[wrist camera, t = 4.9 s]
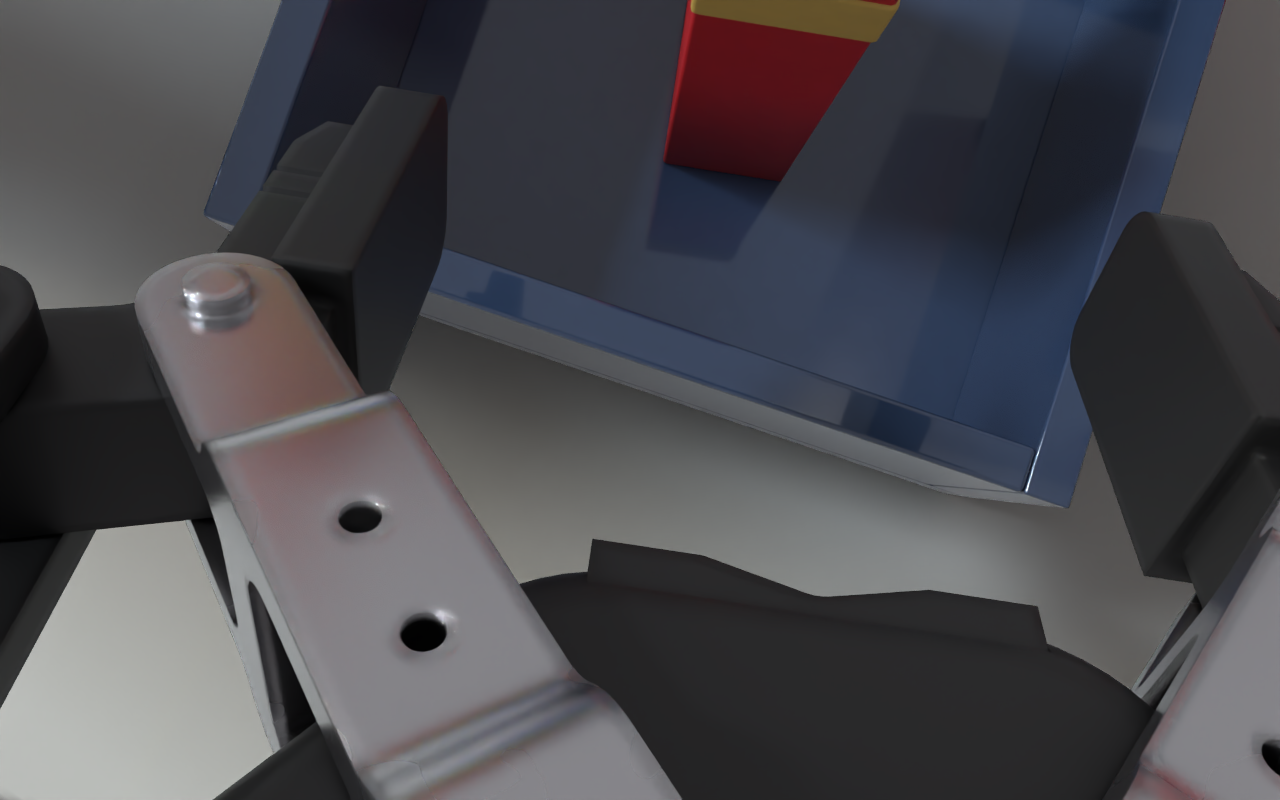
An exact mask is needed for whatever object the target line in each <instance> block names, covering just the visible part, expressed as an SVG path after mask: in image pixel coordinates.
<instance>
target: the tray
mask: <svg viewBox="0 0 1280 800" xmlns="http://www.w3.org/2000/svg"><path fill="white" fill-rule="evenodd" d="M1225 1H1226V0H900V5H899V8H898V10H897V11H896V13H895V14H894V16H893V17H892V19H891V20H890V22H889V23H888V25H887V26H886V28H885V29H884V31H883V32H882V34H881V35H880V37H879V38H878V40H877V41H876V42H872V43H870V45H869V46H868V48H867V49H866V51H865V52H864V54H863V55H862V57H861V58H860V60H859V62H858V63H857V65H856V66H855V68H854V69H853V71H852V72H851V74H850V75H849V77H848V79H847V80H846V82H845V83H844V85H843V86H842V88H841V89H840V91H839V92H838V94H837V96H836V97H835V99H834V100H833V102H832V103H831V105H830V106H829V108H828V109H827V111H826V113H825V114H824V116H823V117H822V119H821V120H820V122H819V123H818V125H817V126H816V128H815V130H814V131H813V133H812V134H811V136H810V137H809V139H808V140H807V142H806V143H805V145H804V147H803V148H802V150H801V151H800V153H799V154H798V156H797V157H796V159H795V160H794V162H793V164H792V165H791V167H790V168H789V170H788V171H787V173H786V174H785V176H784V177H783V179H782V181H774V180H768V179H761V178H755V177H749V176H743V175H736V174H730V173H724V172H717V171H711V170H705V169H699V168H692V167H686V166H680V165H674V164H667V163H665V162H664V161H663V158H664V151H665V144H666V138H667V131H668V125H669V118H670V112H671V105H672V99H673V92H674V85H675V79H676V72H677V66H678V59H679V53H680V46H681V40H682V33H683V26H684V20H685V13H686V7H687V0H281V3H280V6H279V9H278V11H277V14H276V17H275V19H274V22H273V25H272V28H271V30H270V33H269V36H268V38H267V41H266V44H265V47H264V49H263V52H262V55H261V57H260V60H259V63H258V66H257V68H256V71H255V74H254V76H253V79H252V82H251V85H250V87H249V90H248V93H247V95H246V98H245V101H244V104H243V106H242V109H241V112H240V114H239V117H238V120H237V123H236V125H235V128H234V131H233V133H232V136H231V139H230V142H229V144H228V147H227V150H226V152H225V155H224V158H223V161H222V163H221V166H220V169H219V171H218V174H217V177H216V180H215V182H214V185H213V188H212V190H211V193H210V196H209V199H208V201H207V204H206V207H205V209H204V216H205V217H207V218H208V219H210V220H212V221H213V222H215V223H217V224H218V225H220V226H222V227H223V228H225V229H227V230H228V231H230V232H231V231H232V229H233V228H234V226H235V225H236V223H237V222H238V221H239V219H240V218H241V216H242V215H243V213H244V212H245V210H246V209H247V208H248V206H249V205H250V203H251V202H252V200H253V199H254V197H255V196H256V195H257V193H258V192H259V191H262V190H263V184H264V183H265V182H266V180H267V179H268V177H269V176H270V174H271V173H272V172H273V170H277V164H278V163H279V161H280V160H281V159H282V157H283V156H284V154H285V153H286V151H287V150H288V148H289V147H290V146H291V144H292V143H293V141H294V140H295V139H297V138H299V137H301V136H302V135H304V134H306V133H308V132H309V131H311V130H313V129H315V128H317V127H318V126H320V125H322V124H324V123H325V122H327V121H330V122H336V123H342V124H349V125H354V123H355V121H356V120H357V118H358V116H359V115H360V113H361V112H362V110H363V108H364V107H365V105H366V104H367V102H368V100H369V99H370V97H371V95H372V94H373V92H374V91H375V89H376V88H377V87H378V86H385V87H392V88H398V89H404V90H410V91H416V92H422V93H429V94H435V95H441V96H444V97H445V99H446V103H447V111H448V150H447V220H446V232H445V239H444V245H443V250H442V255H441V259H440V262H439V265H438V268H437V271H436V273H435V276H434V278H433V281H432V283H431V286H430V288H429V291H428V293H427V296H426V298H425V301H424V303H423V306H422V308H421V311H420V313H419V316H422V317H425V318H428V319H431V320H434V321H437V322H440V323H443V324H446V325H449V326H452V327H455V328H458V329H461V330H464V331H467V332H470V333H472V334H475V335H478V336H481V337H484V338H487V339H490V340H493V341H496V342H499V343H502V344H505V345H508V346H511V347H514V348H517V349H520V350H523V351H526V352H529V353H532V354H534V355H537V356H540V357H543V358H546V359H549V360H552V361H555V362H558V363H561V364H564V365H567V366H570V367H573V368H576V369H579V370H582V371H585V372H588V373H591V374H594V375H597V376H599V377H602V378H605V379H608V380H611V381H614V382H617V383H620V384H623V385H626V386H629V387H632V388H635V389H638V390H641V391H644V392H647V393H650V394H653V395H656V396H659V397H661V398H664V399H667V400H670V401H673V402H676V403H679V404H682V405H685V406H688V407H691V408H694V409H697V410H700V411H703V412H706V413H709V414H712V415H715V416H718V417H721V418H724V419H726V420H729V421H732V422H735V423H738V424H741V425H744V426H747V427H750V428H753V429H756V430H759V431H762V432H765V433H768V434H771V435H774V436H777V437H780V438H783V439H786V440H789V441H791V442H794V443H797V444H800V445H803V446H806V447H809V448H812V449H815V450H818V451H821V452H824V453H827V454H830V455H833V456H836V457H839V458H842V459H845V460H848V461H851V462H853V463H856V464H859V465H862V466H865V467H868V468H871V469H874V470H877V471H880V472H883V473H886V474H889V475H892V476H895V477H898V478H901V479H904V480H907V481H910V482H913V483H916V484H918V485H921V486H924V487H927V488H930V489H933V490H936V491H939V492H942V493H945V494H949V495H957V496H964V497H971V498H980V499H989V500H997V501H1006V502H1015V503H1023V504H1032V505H1041V506H1050V507H1058V508H1068V507H1069V506H1070V503H1071V499H1072V496H1073V493H1074V490H1075V486H1076V483H1077V480H1078V477H1079V473H1080V470H1081V467H1082V464H1083V461H1084V457H1085V454H1086V451H1087V448H1088V444H1089V441H1090V438H1091V435H1092V431H1093V429H1092V426H1091V423H1090V420H1089V417H1088V415H1087V412H1086V409H1085V406H1084V403H1083V400H1082V397H1081V395H1080V392H1079V389H1078V386H1077V383H1076V380H1075V378H1074V375H1073V372H1072V368H1071V364H1070V344H1071V338H1072V333H1073V330H1074V326H1075V323H1076V321H1077V318H1078V316H1079V314H1080V312H1081V310H1082V308H1083V306H1084V305H1085V303H1086V301H1087V299H1088V297H1089V295H1090V293H1091V291H1092V289H1093V287H1094V285H1095V283H1096V281H1097V280H1098V278H1099V276H1100V274H1101V272H1102V270H1103V268H1104V266H1105V264H1106V262H1107V260H1108V258H1109V256H1110V255H1111V253H1112V251H1113V249H1114V247H1115V245H1116V243H1117V241H1118V239H1119V237H1120V235H1121V233H1122V231H1123V230H1124V228H1125V226H1126V225H1127V224H1128V222H1129V221H1130V220H1131V219H1132V218H1133V217H1134V216H1135V215H1136V214H1138V213H1140V212H1144V211H1146V212H1152V213H1158V214H1160V211H1161V208H1162V205H1163V202H1164V198H1165V195H1166V192H1167V189H1168V185H1169V182H1170V179H1171V176H1172V172H1173V169H1174V166H1175V163H1176V159H1177V156H1178V153H1179V150H1180V147H1181V143H1182V140H1183V137H1184V134H1185V130H1186V127H1187V124H1188V121H1189V117H1190V114H1191V111H1192V108H1193V104H1194V101H1195V98H1196V95H1197V92H1198V88H1199V85H1200V82H1201V79H1202V75H1203V72H1204V69H1205V66H1206V62H1207V59H1208V56H1209V53H1210V49H1211V46H1212V43H1213V40H1214V36H1215V33H1216V30H1217V27H1218V24H1219V20H1220V17H1221V14H1222V11H1223V7H1224V4H1225Z"/></svg>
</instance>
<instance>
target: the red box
mask: <svg viewBox="0 0 1280 800" xmlns="http://www.w3.org/2000/svg"><path fill="white" fill-rule="evenodd" d="M899 5H900V0H687V7H686V13H685V20H684V26H683V33H682V40H681V46H680V53H679V59H678V66H677V72H676V79H675V85H674V92H673V99H672V105H671V112H670V118H669V125H668V131H667V138H666V144H665V151H664V158H663V161H664V162H665V163H667V164H674V165H680V166H686V167H692V168H699V169H705V170H711V171H717V172H724V173H730V174H736V175H743V176H749V177H755V178H761V179H768V180H774V181H782V179H783V177H784V176H785V174H786V173H787V171H788V170H789V168H790V167H791V165H792V164H793V162H794V160H795V159H796V157H797V156H798V154H799V153H800V151H801V150H802V148H803V147H804V145H805V143H806V142H807V140H808V139H809V137H810V136H811V134H812V133H813V131H814V130H815V128H816V126H817V125H818V123H819V122H820V120H821V119H822V117H823V116H824V114H825V113H826V111H827V109H828V108H829V106H830V105H831V103H832V102H833V100H834V99H835V97H836V96H837V94H838V92H839V91H840V89H841V88H842V86H843V85H844V83H845V82H846V80H847V79H848V77H849V75H850V74H851V72H852V71H853V69H854V68H855V66H856V65H857V63H858V62H859V60H860V58H861V57H862V55H863V54H864V52H865V51H866V49H867V48H868V46H869V45H870V43H872V42H876V41H877V40H878V38H879V37H880V35H881V34H882V32H883V31H884V29H885V28H886V26H887V25H888V23H889V22H890V20H891V19H892V17H893V16H894V14H895V13H896V11H897V10H898V8H899Z"/></svg>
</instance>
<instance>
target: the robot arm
mask: <svg viewBox="0 0 1280 800" xmlns="http://www.w3.org/2000/svg"><path fill="white" fill-rule="evenodd" d="M447 150H448V111H447V103H446V99H445V97H444V96H441V95H435V94H429V93H422V92H416V91H410V90H404V89H398V88H392V87H385V86H378V87H377V88H376V89H375V91H374V92H373V94H372V95H371V97H370V99H369V100H368V102H367V104H366V105H365V107H364V108H363V110H362V112H361V113H360V115H359V116H358V118H357V120H356V121H355V123H354V125H349V124H342V123H336V122H330V121H327V122H325V123H324V124H322V125H320V126H318V127H317V128H315V129H313V130H311V131H309V132H308V133H306V134H304V135H302V136H301V137H299V138H297V139H295V140H294V141H293V143H292V144H291V146H290V147H289V148H288V150H287V151H286V153H285V154H284V156H283V157H282V159H281V160H280V161H279V163H278V164H277V170H273V172H272V173H271V174H270V176H269V177H268V179H267V180H266V182H265V183H264V184H263V190H262V191H259V192H258V193H257V195H256V196H255V197H254V199H253V200H252V202H251V203H250V205H249V206H248V208H247V209H246V210H245V212H244V213H243V215H242V216H241V218H240V219H239V221H238V222H237V223H236V225H235V226H234V228H233V229H232V231H231V232H230V234H229V235H228V236H227V238H226V239H225V241H224V242H223V244H222V245H221V247H220V248H219V249H218V251H217V252H216V253H209V254H202V255H196V256H192V257H188V258H184V259H181V260H179V261H176V262H173V263H171V264H169V265H167V266H165V267H163V268H161V269H159V270H158V271H156V272H155V273H154V274H152V275H151V276H150V277H149V278H148V279H147V280H146V281H144V282H143V284H142V285H141V287H140V288H139V290H138V292H137V294H136V297H135V303H131V304H125V305H115V306H100V307H80V308H61V309H41V310H39V308H38V304H37V301H36V298H35V295H34V292H33V289H32V287H31V285H30V283H29V282H28V281H27V280H26V278H24V277H23V276H22V275H20V274H19V273H18V272H16V271H14V270H12V269H10V268H8V267H4V266H1V265H0V708H1V706H2V704H3V703H4V701H5V699H6V697H7V695H8V693H9V691H10V690H11V688H12V686H13V684H14V682H15V680H16V678H17V677H18V675H19V673H20V671H21V669H22V667H23V665H24V664H25V662H26V660H27V658H28V656H29V654H30V652H31V650H32V649H33V647H34V645H35V643H36V641H37V639H38V637H39V636H40V634H41V632H42V630H43V628H44V626H45V624H46V623H47V621H48V619H49V617H50V615H51V613H52V611H53V610H54V608H55V606H56V604H57V602H58V600H59V598H60V596H61V595H62V593H63V591H64V589H65V587H66V585H67V583H68V582H69V580H70V578H71V576H72V574H73V572H74V570H75V569H76V567H77V565H78V563H79V561H80V559H81V557H82V556H83V554H84V552H85V550H86V548H87V546H88V544H89V542H90V541H91V539H92V537H93V535H94V533H95V531H96V530H97V529H107V528H116V527H126V526H135V525H145V524H154V523H164V522H173V521H183V520H186V524H187V527H188V529H189V531H190V534H191V536H192V539H193V541H194V544H195V546H196V549H197V551H198V553H199V556H200V558H201V561H202V563H203V566H204V568H205V571H206V573H207V575H208V578H209V580H210V583H211V585H212V588H213V590H214V593H215V595H216V597H217V600H218V602H219V605H220V607H221V610H222V612H223V615H224V617H225V619H226V622H227V624H228V627H229V629H230V632H231V634H232V637H233V639H234V641H235V644H236V646H237V649H238V651H239V654H240V657H241V659H242V662H243V665H244V668H245V671H246V674H247V677H248V680H249V683H250V687H251V690H252V694H253V697H254V700H255V703H256V707H257V710H258V713H259V716H260V719H261V722H262V724H263V727H264V730H265V733H266V736H267V738H268V741H269V744H270V746H271V749H272V751H273V755H272V756H270V757H269V758H268V759H266V760H265V761H264V762H262V763H261V764H260V765H258V766H257V767H256V768H254V769H253V770H252V771H250V772H249V773H248V774H246V775H245V776H244V777H242V778H241V779H240V780H238V781H237V782H236V783H234V784H233V785H232V786H230V787H229V788H228V789H227V790H225V791H224V792H223V793H221V794H220V795H219V796H217V797H216V798H215V799H213V800H1280V302H1279V300H1278V299H1277V298H1276V297H1274V296H1273V295H1272V294H1271V293H1270V292H1269V291H1267V290H1266V289H1265V288H1264V287H1263V286H1262V285H1260V284H1259V283H1258V282H1257V281H1256V280H1255V279H1253V278H1252V277H1251V276H1250V275H1249V274H1248V273H1246V272H1245V271H1244V270H1240V268H1239V266H1238V265H1237V263H1236V262H1235V260H1234V258H1233V257H1232V255H1231V253H1230V252H1229V250H1228V248H1227V247H1226V245H1225V243H1224V242H1223V240H1222V238H1221V237H1220V235H1219V233H1218V232H1217V230H1216V229H1215V227H1214V226H1213V225H1212V224H1211V223H1210V222H1207V221H1202V220H1195V219H1189V218H1183V217H1177V216H1171V215H1165V214H1158V213H1152V212H1146V211H1144V212H1140V213H1138V214H1136V215H1135V216H1134V217H1133V218H1132V219H1131V220H1130V221H1129V222H1128V224H1127V225H1126V226H1125V228H1124V230H1123V231H1122V233H1121V235H1120V237H1119V239H1118V241H1117V243H1116V245H1115V247H1114V249H1113V251H1112V253H1111V255H1110V256H1109V258H1108V260H1107V262H1106V264H1105V266H1104V268H1103V270H1102V272H1101V274H1100V276H1099V278H1098V280H1097V281H1096V283H1095V285H1094V287H1093V289H1092V291H1091V293H1090V295H1089V297H1088V299H1087V301H1086V303H1085V305H1084V306H1083V308H1082V310H1081V312H1080V314H1079V316H1078V318H1077V321H1076V323H1075V326H1074V330H1073V333H1072V338H1071V344H1070V364H1071V368H1072V372H1073V375H1074V378H1075V380H1076V383H1077V386H1078V389H1079V392H1080V395H1081V397H1082V400H1083V403H1084V406H1085V409H1086V412H1087V415H1088V417H1089V420H1090V423H1091V426H1092V429H1093V432H1094V435H1095V437H1096V440H1097V443H1098V446H1099V449H1100V452H1101V455H1102V457H1103V460H1104V463H1105V466H1106V469H1107V472H1108V474H1109V477H1110V480H1111V483H1112V486H1113V489H1114V492H1115V494H1116V497H1117V500H1118V503H1119V506H1120V509H1121V512H1122V514H1123V517H1124V520H1125V523H1126V526H1127V529H1128V532H1129V534H1130V537H1131V540H1132V543H1133V546H1134V549H1135V551H1136V554H1137V557H1138V560H1139V563H1140V566H1141V569H1142V571H1143V574H1144V576H1149V577H1155V578H1162V579H1168V580H1175V581H1181V582H1188V583H1193V586H1194V588H1195V591H1196V593H1195V594H1194V595H1193V596H1192V598H1191V599H1190V600H1189V602H1188V603H1187V604H1186V605H1185V607H1184V608H1183V609H1182V610H1181V612H1180V613H1179V614H1178V616H1177V618H1176V619H1175V621H1174V622H1173V624H1172V625H1171V627H1170V629H1169V630H1168V632H1167V633H1166V635H1165V637H1164V638H1163V640H1162V641H1161V643H1160V645H1159V646H1158V648H1157V649H1156V651H1155V652H1154V654H1153V656H1152V657H1151V659H1150V660H1149V662H1148V664H1147V665H1146V667H1145V668H1144V670H1143V672H1142V673H1141V675H1140V676H1139V678H1138V679H1137V681H1136V683H1135V684H1134V686H1133V687H1132V689H1131V690H1130V689H1128V688H1127V687H1125V686H1124V685H1123V684H1121V683H1120V682H1118V681H1117V680H1115V679H1114V678H1113V677H1111V676H1110V675H1108V674H1107V673H1105V672H1103V671H1101V670H1100V669H1098V668H1096V667H1095V666H1093V665H1091V664H1089V663H1088V662H1086V661H1084V660H1082V659H1080V658H1078V657H1076V656H1074V655H1072V654H1070V653H1068V652H1066V651H1063V650H1061V649H1059V648H1057V647H1054V646H1052V645H1049V644H1047V642H1046V638H1045V634H1044V630H1043V626H1042V622H1041V618H1040V614H1039V610H1038V606H1031V605H1025V604H1018V603H1012V602H1005V601H998V600H992V599H985V598H979V597H972V596H966V595H959V594H952V593H946V592H939V591H933V590H922V591H907V592H892V593H877V594H863V595H848V596H833V597H821V596H814V595H810V594H807V593H804V592H801V591H798V590H796V589H793V588H790V587H787V586H785V585H782V584H779V583H777V582H774V581H771V580H768V579H766V578H763V577H760V576H757V575H755V574H752V573H749V572H746V571H744V570H741V569H738V568H735V567H733V566H730V565H727V564H725V563H722V562H719V561H716V560H714V559H711V558H708V557H705V556H702V555H696V554H689V553H683V552H676V551H669V550H663V549H656V548H650V547H643V546H636V545H630V544H623V543H617V542H610V541H604V540H597V539H593V540H592V546H591V553H590V559H589V566H588V572H579V573H567V574H561V575H555V576H549V577H544V578H539V579H535V580H532V581H529V582H525V583H522V584H519V583H518V582H517V580H516V579H515V577H514V576H513V574H512V573H511V571H510V569H509V568H508V566H507V565H506V563H505V562H504V560H503V559H502V557H501V556H500V554H499V552H498V551H497V549H496V548H495V546H494V545H493V543H492V542H491V540H490V538H489V537H488V535H487V534H486V532H485V531H484V529H483V528H482V526H481V524H480V523H479V521H478V520H477V518H476V517H475V515H474V514H473V512H472V511H471V509H470V507H469V506H468V504H467V503H466V501H465V500H464V498H463V497H462V495H461V493H460V492H459V490H458V489H457V487H456V486H455V484H454V483H453V481H452V480H451V478H450V476H449V475H448V473H447V472H446V470H445V469H444V467H443V466H442V464H441V462H440V461H439V459H438V458H437V456H436V455H435V453H434V452H433V450H432V449H431V447H430V445H429V444H428V442H427V441H426V439H425V438H424V436H423V435H422V433H421V431H420V430H419V428H418V427H417V425H416V424H415V422H414V421H413V419H412V417H411V416H410V414H409V413H408V411H407V410H406V408H405V407H404V405H403V404H402V402H401V401H400V400H399V398H398V397H397V396H396V395H395V394H394V393H392V392H391V391H389V388H390V385H391V383H392V380H393V378H394V375H395V373H396V370H397V368H398V365H399V363H400V360H401V358H402V355H403V353H404V350H405V348H406V346H407V343H408V341H409V338H410V336H411V333H412V331H413V328H414V326H415V323H416V321H417V318H418V316H419V313H420V311H421V308H422V306H423V303H424V301H425V298H426V296H427V293H428V291H429V288H430V286H431V283H432V281H433V278H434V276H435V273H436V271H437V268H438V265H439V262H440V259H441V255H442V250H443V245H444V239H445V232H446V220H447Z"/></svg>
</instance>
